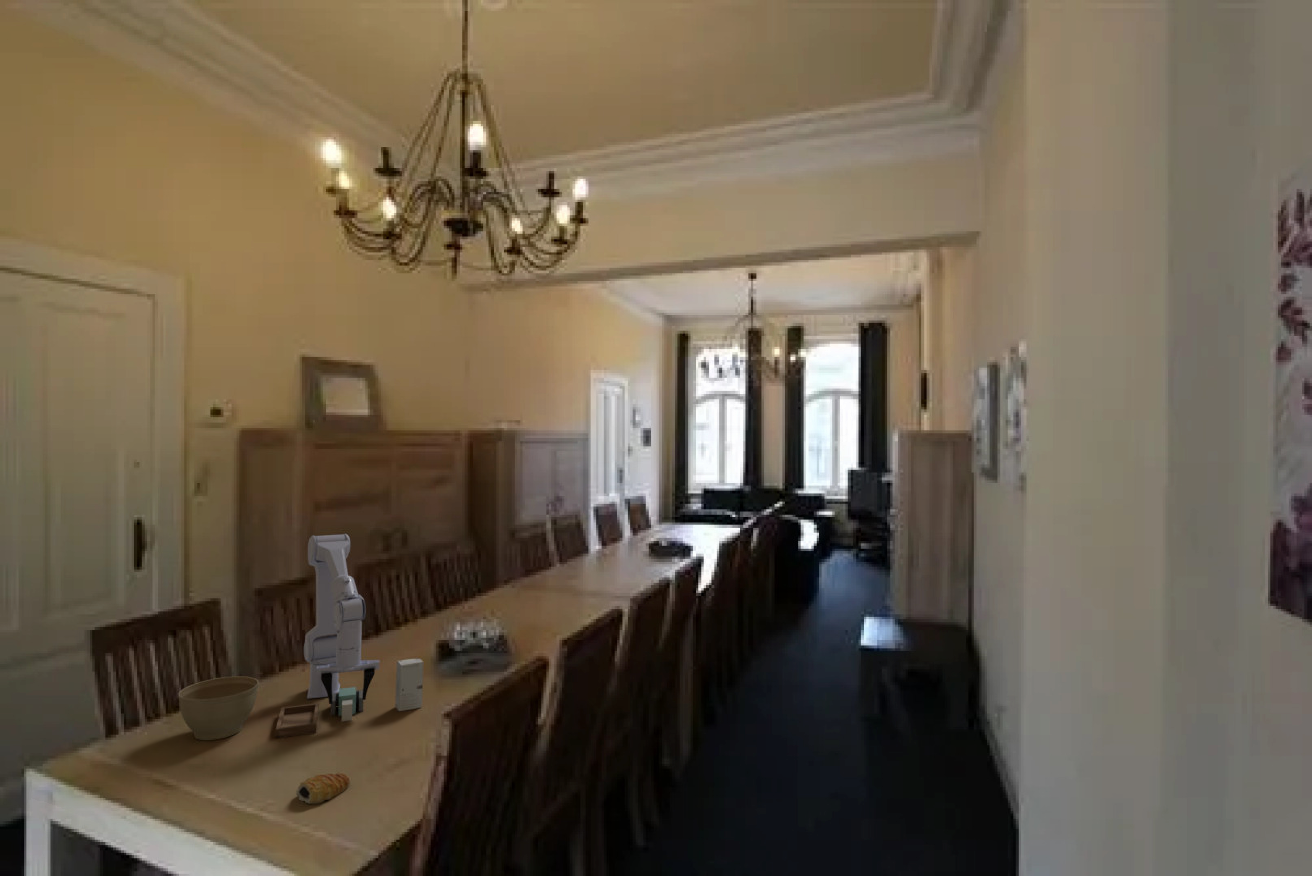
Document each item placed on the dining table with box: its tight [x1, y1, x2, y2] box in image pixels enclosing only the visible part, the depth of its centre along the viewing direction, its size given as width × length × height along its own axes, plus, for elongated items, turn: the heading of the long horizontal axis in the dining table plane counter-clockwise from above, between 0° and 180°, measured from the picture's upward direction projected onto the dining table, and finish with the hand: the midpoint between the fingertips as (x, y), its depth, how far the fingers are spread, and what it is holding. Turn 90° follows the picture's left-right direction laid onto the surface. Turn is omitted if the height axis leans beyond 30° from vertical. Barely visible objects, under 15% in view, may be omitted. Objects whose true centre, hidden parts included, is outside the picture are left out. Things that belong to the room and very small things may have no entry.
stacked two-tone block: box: [337, 686, 357, 722], centre depth 176 cm, size 10×4×5 cm, turn 24°
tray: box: [274, 702, 320, 739], centre depth 169 cm, size 15×9×2 cm, turn 24°
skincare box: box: [394, 658, 424, 712], centre depth 181 cm, size 6×4×12 cm
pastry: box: [295, 772, 351, 805], centre depth 136 cm, size 9×7×4 cm
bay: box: [330, 688, 364, 716], centre depth 179 cm, size 7×8×4 cm
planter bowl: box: [178, 675, 259, 741], centre depth 163 cm, size 16×16×11 cm
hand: (347, 700), depth 173 cm, fingers open, 7 cm apart
